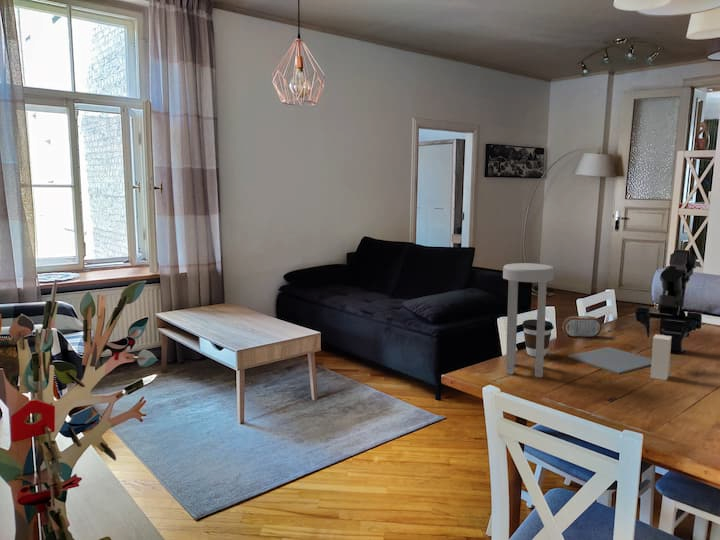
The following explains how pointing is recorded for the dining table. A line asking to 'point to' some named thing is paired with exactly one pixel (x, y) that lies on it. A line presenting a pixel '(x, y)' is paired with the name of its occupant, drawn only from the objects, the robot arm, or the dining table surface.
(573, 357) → the mat
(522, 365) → the dining table surface
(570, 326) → the tin
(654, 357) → the card box
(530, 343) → the coffee cup
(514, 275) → the stool
